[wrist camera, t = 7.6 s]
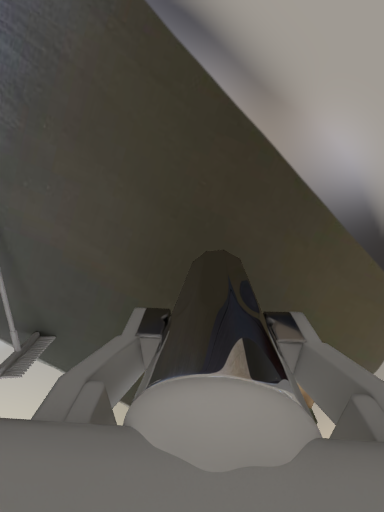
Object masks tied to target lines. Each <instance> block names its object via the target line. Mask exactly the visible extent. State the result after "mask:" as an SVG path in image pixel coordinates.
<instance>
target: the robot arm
mask: <svg viewBox="0 0 384 512" xmlns="http://www.w3.org/2000/svg"><path fill="white" fill-rule="evenodd" d="M263 315H264V317H265V319H266V321H267V323H268V325H269V327H270V329H271V331H272V333H273V334H274V336H275V338H276V340H277V342H278V344H279V346H280V349H281V351H282V353H283V355H284V357H285V359H286V361H287V363H288V365H289V368H290V370H291V372H292V374H293V376H294V378H295V380H296V382H297V383H298V384H299V386H300V387H301V388H302V389H303V390H304V391H305V392H306V393H307V394H308V395H309V396H310V398H311V399H312V400H313V401H314V402H315V403H316V404H317V405H318V406H319V407H320V408H321V410H322V411H323V412H324V413H325V414H326V415H327V416H328V417H329V418H330V419H331V420H332V422H333V423H334V424H335V425H336V426H335V429H334V430H333V432H332V434H331V436H330V438H329V439H327V438H316V439H313V440H312V441H310V442H308V443H307V444H306V445H305V446H304V447H303V448H302V449H301V451H300V452H299V453H298V454H297V455H296V456H295V457H294V458H293V459H292V460H291V461H290V462H288V463H286V464H284V465H281V466H275V467H260V466H250V467H242V468H238V469H234V470H230V471H225V472H208V471H205V470H202V469H199V468H197V467H195V466H193V465H192V464H190V463H188V462H186V461H184V460H183V459H181V458H179V457H176V456H174V455H172V454H170V453H167V452H165V451H162V450H160V449H158V448H156V447H154V446H153V445H152V444H151V443H150V442H148V441H147V440H146V439H145V437H144V436H143V435H142V434H140V433H139V432H138V431H137V430H136V429H134V428H133V427H131V426H120V425H117V423H116V420H115V417H114V413H113V410H112V409H113V407H114V406H115V405H116V404H117V403H118V402H119V400H120V399H121V398H122V397H123V396H124V395H125V393H126V392H127V391H128V390H129V389H130V388H131V386H132V385H133V384H134V383H135V382H136V381H137V379H138V378H139V377H140V376H141V375H142V374H143V372H144V370H147V368H148V366H149V363H150V361H151V359H152V357H153V354H154V352H155V350H156V348H157V346H158V343H159V341H160V339H161V337H162V334H163V332H164V330H165V328H166V325H167V323H168V321H169V318H170V316H171V312H170V309H162V308H138V307H136V308H135V309H134V310H133V312H132V314H131V316H130V318H129V320H128V322H127V325H126V327H125V329H124V331H123V333H122V335H121V336H116V337H115V338H114V339H112V340H111V341H109V342H108V343H107V344H105V345H104V346H102V347H101V348H100V349H98V350H97V351H95V352H94V353H93V354H91V355H90V356H89V357H87V358H86V359H84V360H83V361H82V362H80V363H79V364H77V365H76V366H75V367H73V368H72V369H70V370H69V371H68V372H66V373H65V374H63V375H62V376H61V377H59V378H58V380H57V382H56V383H55V384H54V386H53V387H52V389H51V390H50V392H49V393H48V395H47V396H46V398H45V399H44V401H43V402H42V404H41V405H40V407H39V408H38V410H37V411H36V413H35V414H34V416H33V417H32V419H31V420H26V419H25V420H24V419H10V418H0V512H384V381H382V380H381V379H379V378H378V377H376V376H375V375H373V374H372V373H370V372H369V371H367V370H366V369H364V368H363V367H361V366H360V365H358V364H357V363H355V362H354V361H352V360H351V359H349V358H348V357H346V356H345V355H343V354H342V353H340V352H339V351H337V350H336V349H334V348H333V347H331V346H330V345H328V344H327V343H322V341H321V340H320V338H319V337H318V335H317V334H316V332H315V331H314V329H313V328H312V326H311V324H310V323H309V321H308V320H307V318H306V317H305V315H304V314H303V313H302V312H264V313H263Z"/></svg>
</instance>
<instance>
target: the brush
mask: <svg viewBox="0 0 384 512" xmlns="http://www.w3.org/2000/svg"><path fill="white" fill-rule="evenodd" d="M0 292H1V296H2V300H3V304H4V308H5V312H6V316H7V320H8V323H9V327H10V335H11V338H12V342H13V346H14V350H15V351H14V352H13V353H12V354H11V355H10V356H9V357H8V358H7V359H6V360H5V361H4V362H3V363H2V364H1V365H0V379H2V378H14V377H22V375H19V374H24V372H25V371H27V369H29V366H31V364H33V363H34V362H33V361H36V359H38V356H40V354H42V352H44V350H45V348H47V346H49V344H51V342H52V340H54V338H56V337H55V336H50V337H41V336H40V334H39V332H35V333H34V334H33V335H31V336H30V337H29V338H28V339H27V340H26V341H25V342H24V343H23V344H22V345H20V341H19V337H18V333H17V330H16V329H15V326H14V322H13V318H12V314H11V310H10V306H9V302H8V297H7V293H6V289H5V285H4V281H3V277H2V273H1V269H0ZM28 361H30V362H28Z"/></svg>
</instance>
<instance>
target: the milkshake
mask: <svg viewBox="0 0 384 512" xmlns="http://www.w3.org/2000/svg"><path fill="white" fill-rule="evenodd" d="M123 426H131V427H133V428H134V429H136V430H137V431H138V432H139V433H140V434H142V435H143V436H144V437H145V439H146V440H147V441H148V442H150V443H151V444H152V445H153V446H154V447H156V448H158V449H160V450H162V451H165V452H167V453H170V454H172V455H174V456H176V457H179V458H181V459H183V460H184V461H186V462H188V463H190V464H192V465H193V466H195V467H197V468H199V469H202V470H205V471H208V472H225V471H230V470H234V469H238V468H242V467H250V466H260V467H275V466H281V465H284V464H286V463H288V462H290V461H291V460H292V459H293V458H294V457H295V456H296V455H297V454H298V453H299V452H300V451H301V449H302V448H303V447H304V446H305V445H306V444H307V443H308V442H310V441H312V440H313V439H316V438H322V436H321V433H320V431H319V429H318V427H317V425H316V423H315V421H314V419H313V416H312V414H311V412H310V410H309V408H308V406H307V404H306V402H305V399H304V397H303V395H302V393H301V391H300V389H299V387H298V385H297V382H296V380H295V378H294V376H293V374H292V372H291V370H290V368H289V365H288V363H287V361H286V359H285V357H284V355H283V353H282V351H281V349H280V346H279V344H278V342H277V340H276V338H275V336H274V334H273V333H272V331H271V329H270V327H269V325H268V323H267V321H266V319H265V317H264V315H263V313H262V310H261V308H260V305H259V303H258V301H257V298H256V296H255V293H254V291H253V288H252V286H251V284H250V281H249V279H248V276H247V274H246V272H245V269H244V267H243V264H242V262H241V260H240V258H238V257H236V256H235V255H233V254H231V253H229V252H227V251H226V250H214V251H205V252H204V253H203V254H202V255H200V256H199V257H198V258H197V259H195V260H194V261H193V262H192V264H191V266H190V269H189V271H188V274H187V276H186V279H185V281H184V284H183V286H182V289H181V291H180V294H179V296H178V299H177V301H176V304H175V306H174V309H173V311H172V314H171V316H170V318H169V321H168V323H167V325H166V328H165V330H164V332H163V334H162V337H161V339H160V341H159V343H158V346H157V348H156V350H155V352H154V354H153V357H152V359H151V361H150V363H149V366H148V368H147V370H146V372H145V375H144V377H143V379H142V381H141V383H140V386H139V388H138V390H137V392H136V395H135V397H134V399H133V401H132V404H131V406H130V408H129V410H128V412H127V414H126V416H125V419H124V424H123Z"/></svg>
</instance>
